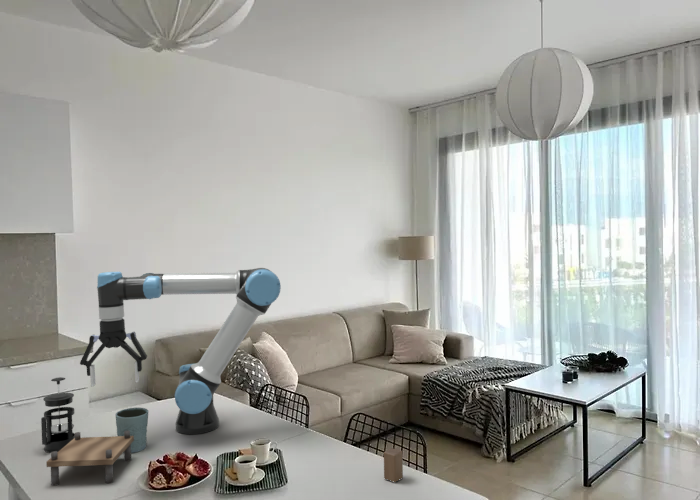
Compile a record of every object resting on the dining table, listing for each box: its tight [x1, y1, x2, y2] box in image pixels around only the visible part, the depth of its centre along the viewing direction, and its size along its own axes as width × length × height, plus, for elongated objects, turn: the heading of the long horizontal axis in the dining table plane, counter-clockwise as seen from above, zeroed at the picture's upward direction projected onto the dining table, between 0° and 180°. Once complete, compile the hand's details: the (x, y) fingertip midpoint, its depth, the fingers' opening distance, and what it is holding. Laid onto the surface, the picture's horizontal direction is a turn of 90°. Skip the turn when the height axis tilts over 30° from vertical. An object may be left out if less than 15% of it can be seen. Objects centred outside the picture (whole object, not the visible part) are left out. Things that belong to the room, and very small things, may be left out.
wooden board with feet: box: [45, 430, 134, 486], centre depth 163 cm, size 18×18×9 cm
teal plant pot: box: [115, 407, 149, 454], centre depth 180 cm, size 10×10×12 cm
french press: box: [40, 376, 75, 453], centre depth 182 cm, size 12×9×23 cm
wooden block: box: [383, 447, 404, 483], centre depth 155 cm, size 4×4×8 cm
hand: (115, 383), depth 180 cm, fingers open, 13 cm apart
